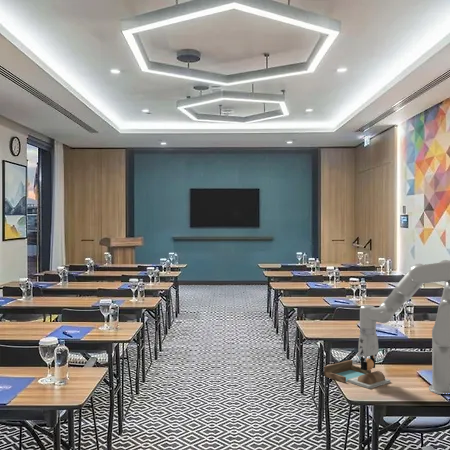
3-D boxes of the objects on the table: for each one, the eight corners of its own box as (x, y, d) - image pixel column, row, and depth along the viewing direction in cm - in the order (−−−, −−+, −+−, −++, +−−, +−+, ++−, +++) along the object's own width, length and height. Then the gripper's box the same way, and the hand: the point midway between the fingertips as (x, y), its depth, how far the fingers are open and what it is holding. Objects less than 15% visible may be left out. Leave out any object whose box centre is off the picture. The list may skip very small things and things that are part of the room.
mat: (368, 375, 255) (368, 374, 255) (345, 381, 245) (345, 381, 245) (350, 370, 264) (350, 369, 264) (327, 376, 254) (327, 375, 254)
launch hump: (385, 387, 244) (385, 372, 244) (369, 392, 237) (369, 377, 237) (373, 383, 250) (373, 369, 250) (357, 388, 242) (357, 373, 242)
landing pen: (371, 375, 256) (371, 365, 256) (344, 382, 244) (344, 372, 244) (350, 369, 266) (350, 359, 266) (324, 376, 254) (324, 366, 254)
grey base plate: (390, 382, 244) (390, 379, 244) (369, 388, 234) (369, 385, 234) (368, 375, 254) (368, 373, 254) (347, 381, 245) (347, 379, 245)
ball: (376, 370, 244) (376, 358, 244) (369, 372, 241) (369, 360, 241) (366, 367, 249) (366, 356, 249) (359, 369, 245) (359, 358, 245)
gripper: (362, 334, 237) (363, 373, 237) (385, 330, 247) (385, 367, 247) (350, 332, 243) (350, 369, 243) (372, 327, 253) (372, 363, 253)
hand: (368, 368), depth 245 cm, fingers closed on ball, 5 cm apart
